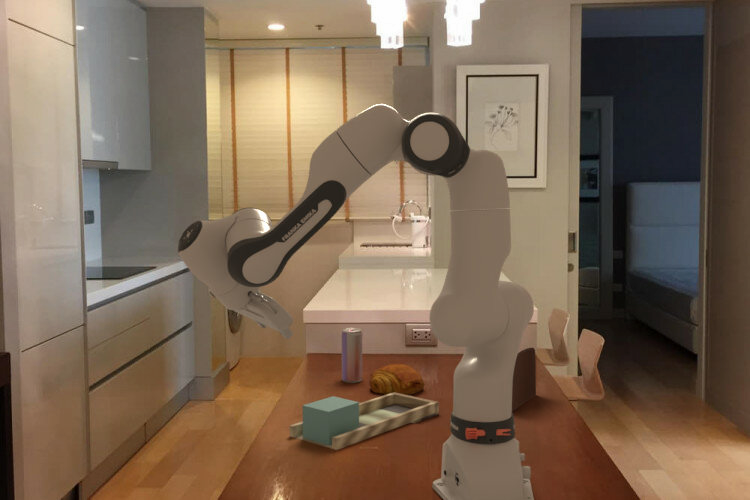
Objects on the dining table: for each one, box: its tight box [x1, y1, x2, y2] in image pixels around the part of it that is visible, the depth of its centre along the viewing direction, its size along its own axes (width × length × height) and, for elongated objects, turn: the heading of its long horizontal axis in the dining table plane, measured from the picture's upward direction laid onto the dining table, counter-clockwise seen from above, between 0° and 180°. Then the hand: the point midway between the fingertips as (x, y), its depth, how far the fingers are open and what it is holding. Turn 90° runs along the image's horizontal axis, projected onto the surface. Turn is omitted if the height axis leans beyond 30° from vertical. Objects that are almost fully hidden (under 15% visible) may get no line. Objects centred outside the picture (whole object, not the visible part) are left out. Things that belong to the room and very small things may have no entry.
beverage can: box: [341, 327, 363, 384], centre depth 238 cm, size 6×6×15 cm
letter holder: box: [512, 347, 537, 413], centre depth 216 cm, size 10×20×14 cm, turn 151°
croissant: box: [368, 363, 426, 396], centre depth 228 cm, size 14×16×8 cm
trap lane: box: [288, 392, 440, 451], centre depth 195 cm, size 38×14×3 cm, turn 140°
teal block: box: [302, 395, 360, 445], centre depth 185 cm, size 10×8×8 cm
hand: (276, 330), depth 172 cm, fingers open, 8 cm apart
